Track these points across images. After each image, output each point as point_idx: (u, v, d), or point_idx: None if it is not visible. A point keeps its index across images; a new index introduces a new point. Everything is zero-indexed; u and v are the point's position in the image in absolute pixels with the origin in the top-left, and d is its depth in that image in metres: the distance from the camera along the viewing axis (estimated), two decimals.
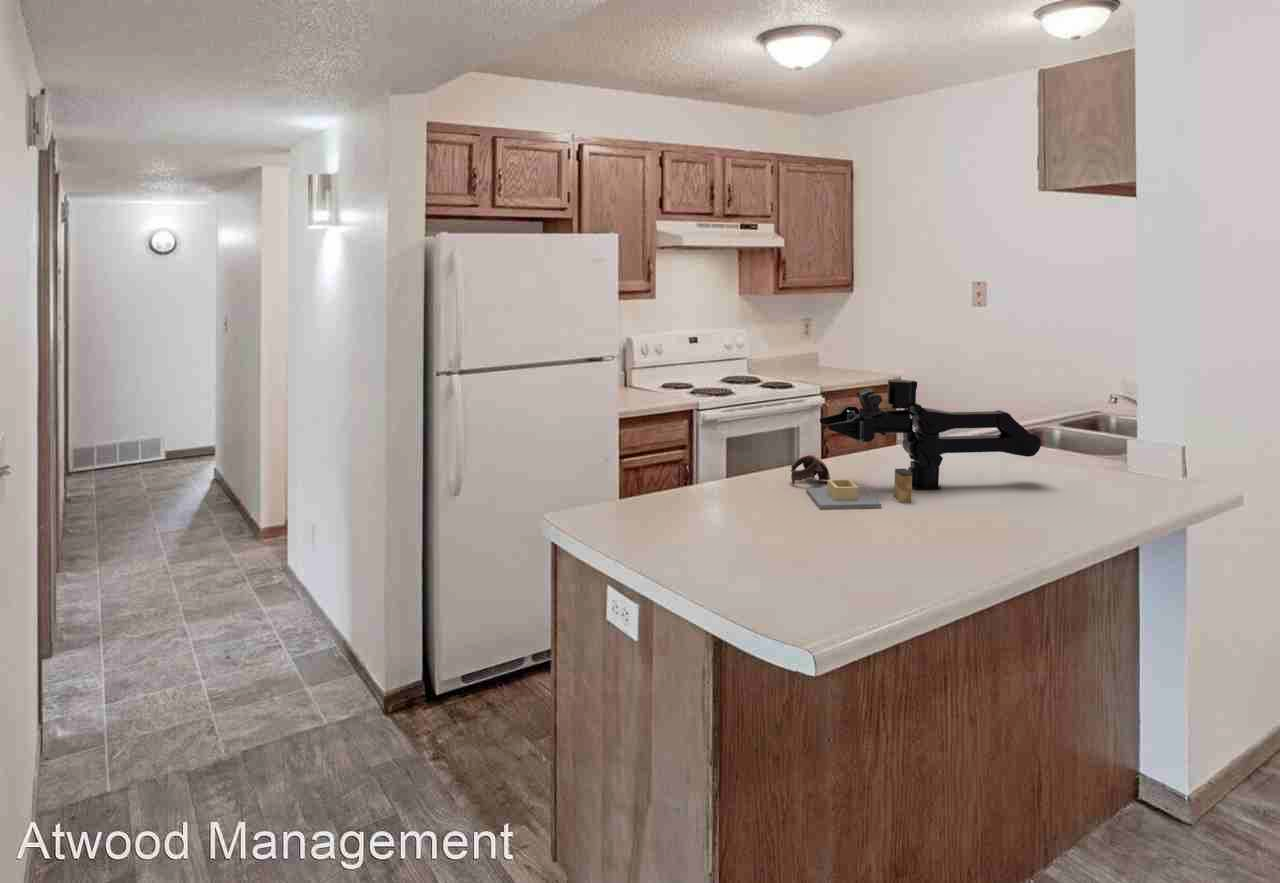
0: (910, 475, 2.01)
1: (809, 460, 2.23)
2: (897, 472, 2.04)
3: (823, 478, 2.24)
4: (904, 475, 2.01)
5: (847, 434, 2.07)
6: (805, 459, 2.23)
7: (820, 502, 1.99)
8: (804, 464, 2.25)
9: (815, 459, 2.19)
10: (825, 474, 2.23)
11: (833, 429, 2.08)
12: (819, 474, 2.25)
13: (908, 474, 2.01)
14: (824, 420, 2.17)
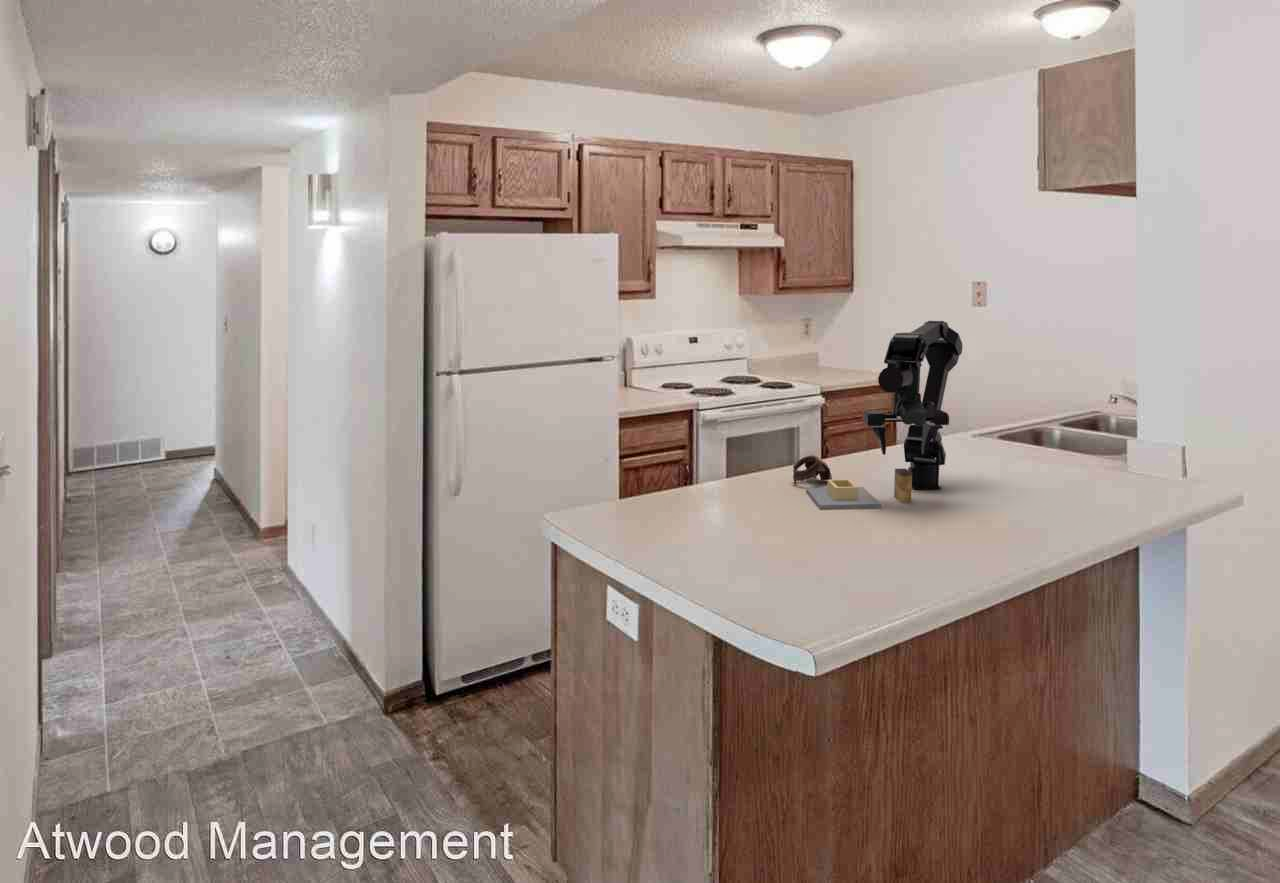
0: (910, 475, 2.01)
1: (811, 461, 2.23)
2: (897, 472, 2.04)
3: (825, 478, 2.24)
4: (904, 475, 2.01)
5: None
6: (807, 459, 2.22)
7: (820, 502, 1.99)
8: (806, 464, 2.24)
9: (817, 459, 2.18)
10: (827, 474, 2.22)
11: None
12: (821, 474, 2.24)
13: (908, 474, 2.01)
14: None
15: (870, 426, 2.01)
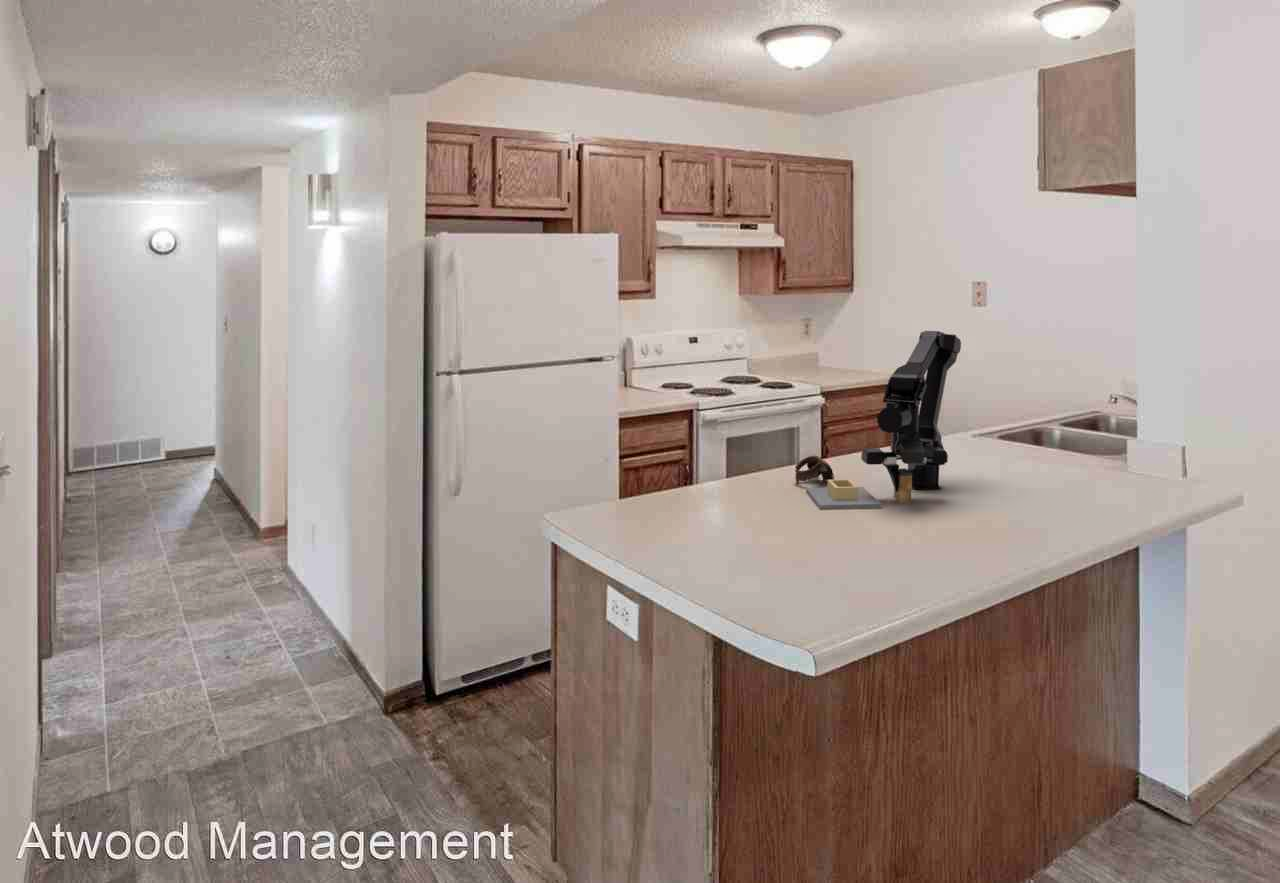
0: (910, 475, 2.01)
1: (813, 461, 2.23)
2: None
3: (827, 478, 2.24)
4: (904, 475, 2.01)
5: None
6: (809, 459, 2.22)
7: (820, 502, 1.99)
8: (808, 464, 2.24)
9: (819, 459, 2.18)
10: (829, 474, 2.22)
11: None
12: (823, 474, 2.24)
13: (908, 474, 2.01)
14: None
15: (883, 464, 2.03)
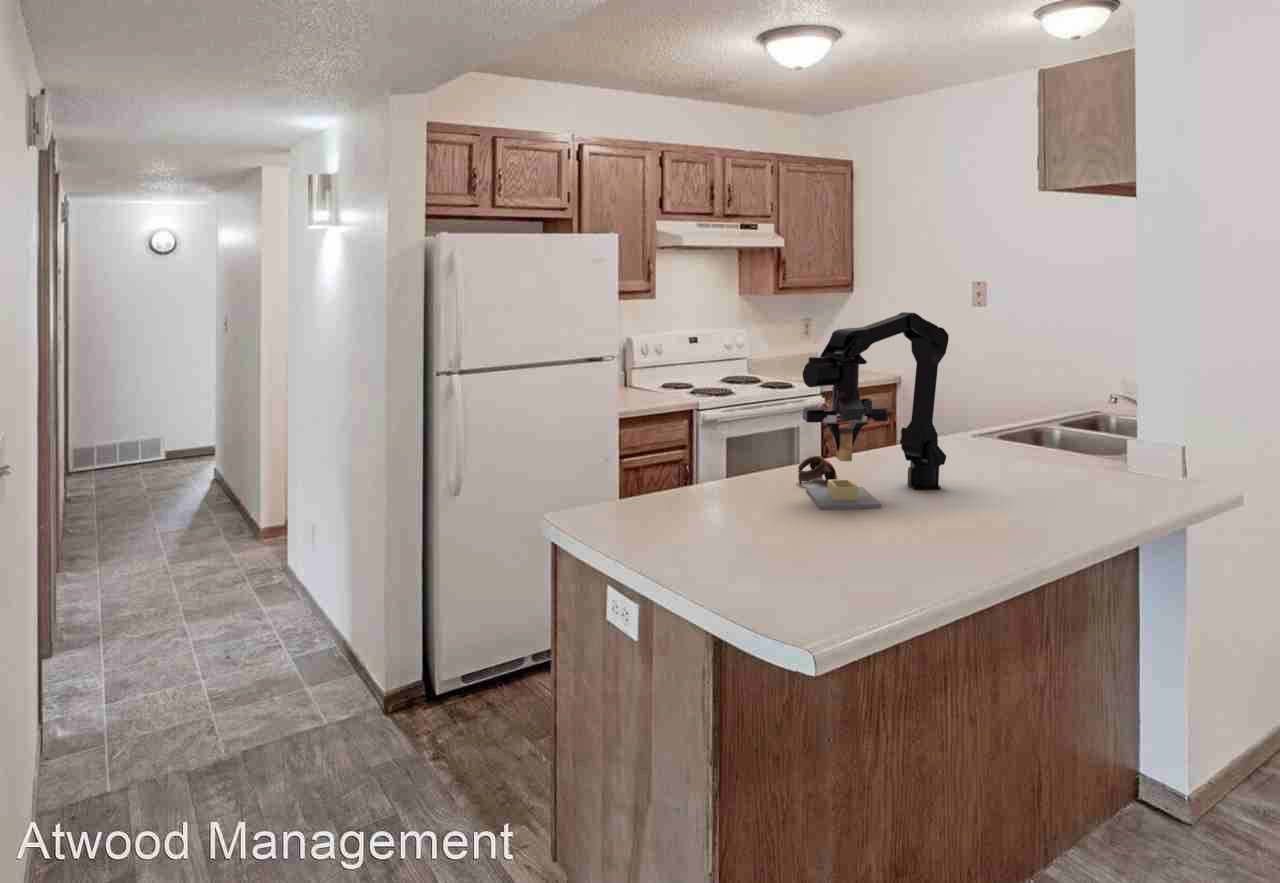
0: (850, 433, 2.00)
1: (816, 461, 2.22)
2: None
3: (830, 479, 2.23)
4: (844, 434, 2.00)
5: None
6: (812, 460, 2.22)
7: (820, 502, 1.99)
8: (811, 464, 2.24)
9: (822, 460, 2.18)
10: (832, 475, 2.22)
11: None
12: (826, 475, 2.24)
13: (848, 432, 2.00)
14: None
15: (824, 422, 2.02)
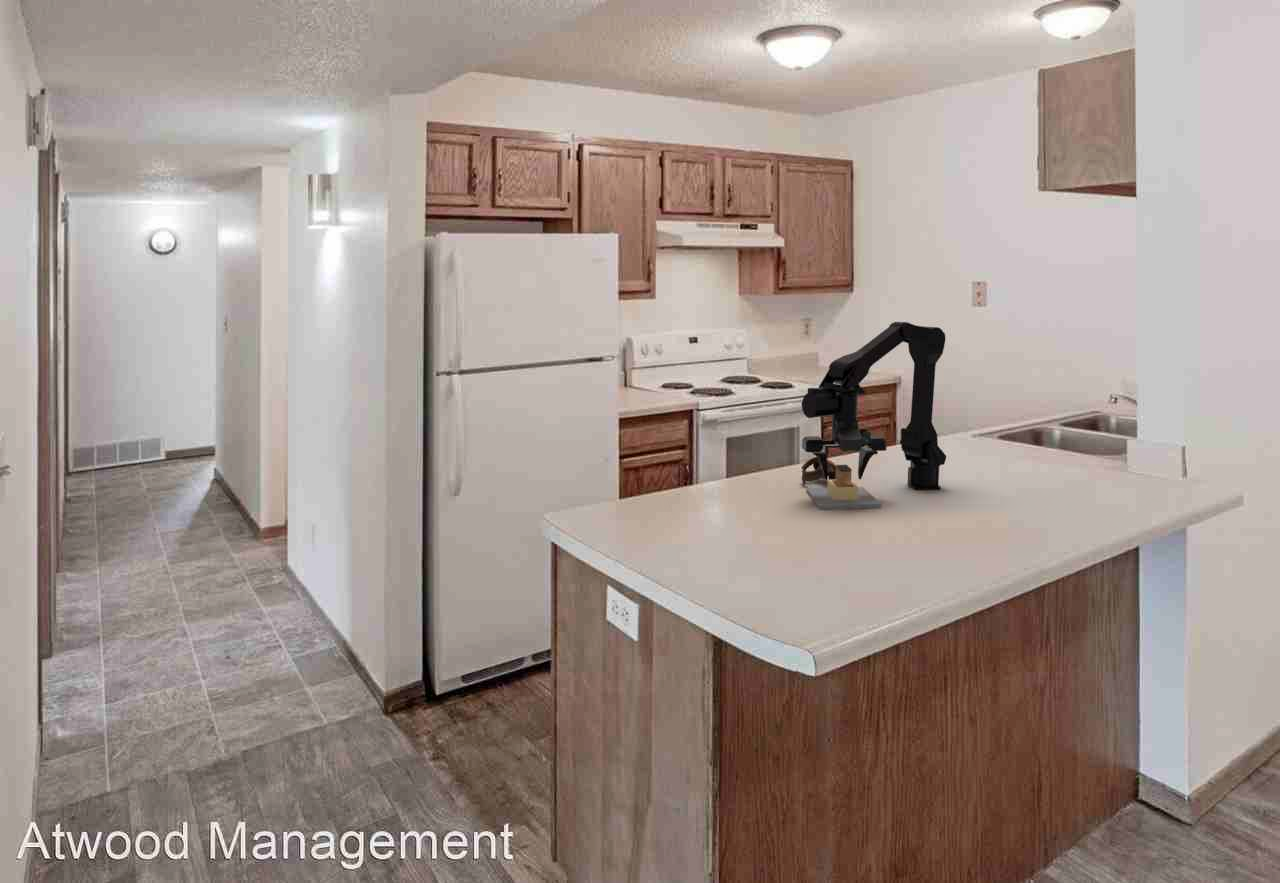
0: (849, 471, 2.02)
1: None
2: (837, 468, 2.04)
3: (833, 479, 2.23)
4: (843, 471, 2.02)
5: None
6: (815, 460, 2.21)
7: (820, 502, 1.99)
8: (814, 465, 2.23)
9: None
10: None
11: None
12: (829, 475, 2.24)
13: (847, 470, 2.01)
14: None
15: (812, 452, 2.03)
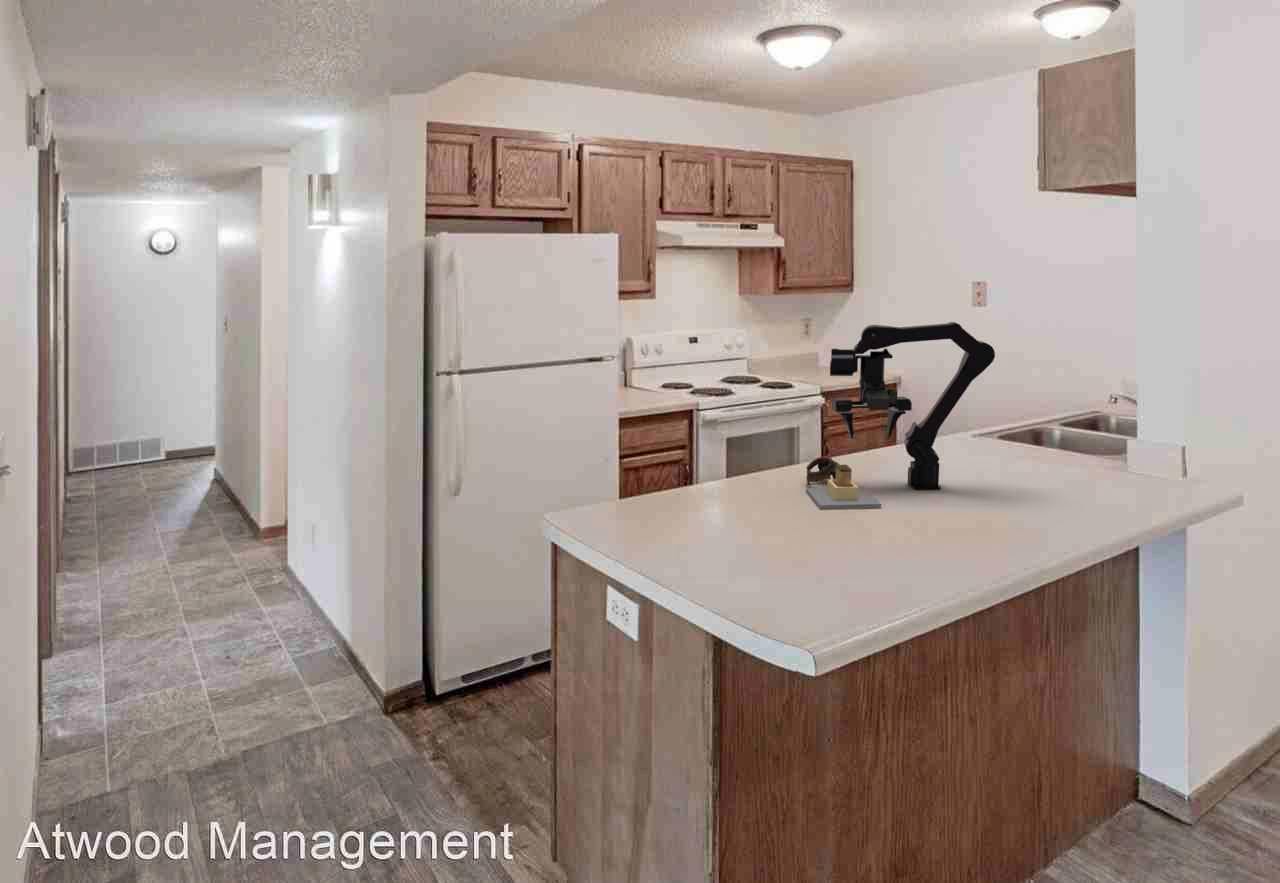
0: (849, 471, 2.02)
1: (824, 462, 2.22)
2: (837, 468, 2.04)
3: None
4: (843, 471, 2.02)
5: None
6: (820, 460, 2.21)
7: (820, 502, 1.99)
8: (818, 465, 2.23)
9: (831, 460, 2.17)
10: None
11: None
12: (834, 475, 2.23)
13: (847, 470, 2.01)
14: None
15: (838, 412, 2.15)
